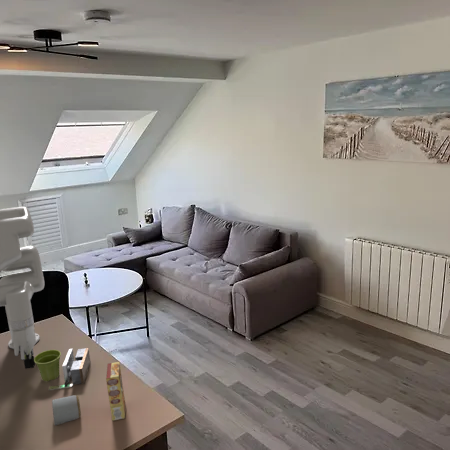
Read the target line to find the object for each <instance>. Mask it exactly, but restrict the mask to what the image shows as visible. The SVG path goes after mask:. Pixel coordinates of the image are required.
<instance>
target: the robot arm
mask: <svg viewBox="0 0 450 450" xmlns="http://www.w3.org/2000/svg"><path fill="white" fill-rule="evenodd" d="M34 233H35V228H34V223H33V219H32V216H31V212H30V210H29V209H28V208H27V206H15V207H7V208H0V273H1V272H4V273H5V272H13V271H19V270H24V269H29V270H27V271H23V272H16V273H11V274H7V275H4V276H3V277H1V278H0V307H5V313H6V317H7V319H6V320H7V323H8V329H9V334H10V340H9V341H8V343H7V344H8V348H10V349H11V350H13V351H14V356H15V357H18V356H19V355H20V360H21V361H23V364H24V369H25V370H27V369H33V368H35V366H36V363H35V362H34V358H35V356H34V354H35V353H34V347H35V345H36V344H37V343H38V342H39V341H40V338H41V337H40V334H38V333H36V331H35V325H34V324H35V322H34V315H33V309H32V303H31V300H32V297H33V295H34V293H37V292H41V291H42V290H44V288H45V277H44V272H43V267H42V262H41V257H40V253H39V250H38V247H36V246H34V245H26V246H21V245H20V241H19V239H23V238H29V237H32V236H33V235H34Z"/></svg>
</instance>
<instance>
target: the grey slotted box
mask: <svg viewBox="0 0 450 450" xmlns="http://www.w3.org/2000/svg"><path fill="white" fill-rule="evenodd" d="M90 365H91V355H90V350H89V347H85V348H78V349H77V351H76V354H75V357H74V362H73V365H72V367H71V377H70V378H71V382H72V383H67V385H66V386H64V384H60V385H53V386H52V385H51V386H49V387H48V391H54V390H63V389H68V388H73V386H74V385H81V384H85V383H86V382H85V381H86V378H87V375H88V371H89V368H90Z"/></svg>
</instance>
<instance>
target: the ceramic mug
mask: <svg viewBox="0 0 450 450" xmlns="http://www.w3.org/2000/svg"><path fill="white" fill-rule="evenodd" d="M79 397H80V396H79V395H76V394H75V395H69V396H66V397H59V398H55V399H52V401H51V404H52V405H51V407H52V408H51V409H52V415H53V425H54V426H58V425H61V424H65V423H68V422H71V421H75V420H78V419H79V418H81V416H82V413H81V405H80V398H79Z"/></svg>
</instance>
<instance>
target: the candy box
mask: <svg viewBox="0 0 450 450" xmlns="http://www.w3.org/2000/svg"><path fill="white" fill-rule="evenodd" d="M105 381H106V388H107V394H108V401H109V407H110V414H111V421H112V422H113V421H117V420H118V421H119V420H124V419H125V418H126V417H125V416H126V399H125V393H124V385H123V384H124V383H123V379H122V371H121V362H120V361H117V362H116V361H115V362H109V363H107V366H106V377H105Z"/></svg>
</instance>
